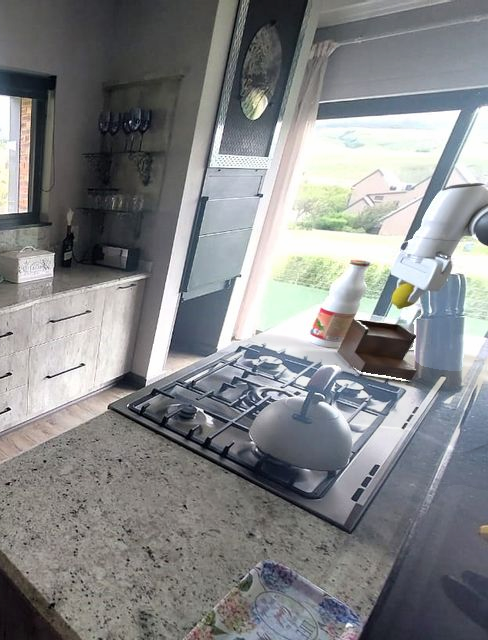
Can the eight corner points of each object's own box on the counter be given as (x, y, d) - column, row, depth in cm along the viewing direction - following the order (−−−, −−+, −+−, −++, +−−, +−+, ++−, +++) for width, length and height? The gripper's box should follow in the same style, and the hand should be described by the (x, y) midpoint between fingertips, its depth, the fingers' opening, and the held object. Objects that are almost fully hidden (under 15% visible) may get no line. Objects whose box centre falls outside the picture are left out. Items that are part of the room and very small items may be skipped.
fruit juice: (335, 350, 134) (376, 266, 121) (303, 341, 141) (338, 260, 127) (343, 344, 140) (383, 262, 126) (311, 335, 146) (346, 256, 133)
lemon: (393, 305, 120) (407, 278, 117) (416, 311, 116) (431, 283, 112) (381, 306, 119) (395, 280, 115) (404, 313, 114) (419, 285, 110)
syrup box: (415, 351, 136) (439, 309, 129) (395, 349, 136) (418, 308, 130) (403, 344, 141) (425, 304, 134) (384, 342, 141) (405, 303, 135)
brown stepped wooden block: (381, 357, 130) (400, 324, 125) (409, 382, 115) (431, 345, 110) (337, 351, 134) (353, 318, 128) (358, 374, 119) (377, 338, 113)
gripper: (469, 257, 100) (438, 310, 106) (425, 243, 117) (401, 290, 123) (437, 255, 102) (408, 307, 108) (398, 242, 118) (375, 288, 125)
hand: (404, 298), depth 116 cm, fingers closed on lemon, 5 cm apart
